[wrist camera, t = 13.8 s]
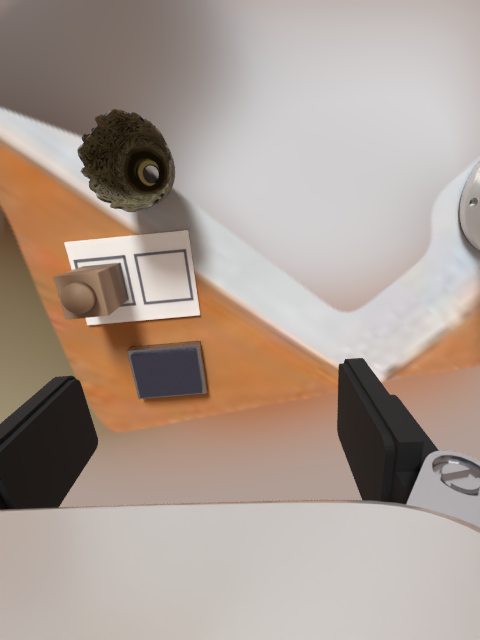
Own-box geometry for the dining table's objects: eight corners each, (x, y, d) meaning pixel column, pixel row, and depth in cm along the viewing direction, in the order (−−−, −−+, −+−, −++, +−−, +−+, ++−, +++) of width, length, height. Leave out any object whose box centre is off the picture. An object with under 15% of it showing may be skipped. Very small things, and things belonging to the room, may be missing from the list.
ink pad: (200, 340, 39) (198, 346, 37) (207, 388, 41) (206, 396, 39) (130, 346, 39) (125, 353, 37) (141, 393, 41) (137, 401, 40)
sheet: (188, 230, 34) (187, 230, 34) (200, 314, 37) (200, 315, 37) (65, 242, 34) (63, 242, 34) (88, 324, 38) (87, 325, 37)
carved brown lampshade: (150, 116, 30) (121, 84, 23) (201, 178, 32) (189, 168, 25) (101, 169, 32) (58, 156, 24) (151, 225, 34) (126, 229, 26)
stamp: (120, 262, 35) (92, 274, 28) (128, 299, 36) (104, 318, 30) (82, 266, 35) (46, 279, 28) (92, 302, 37) (60, 322, 30)
